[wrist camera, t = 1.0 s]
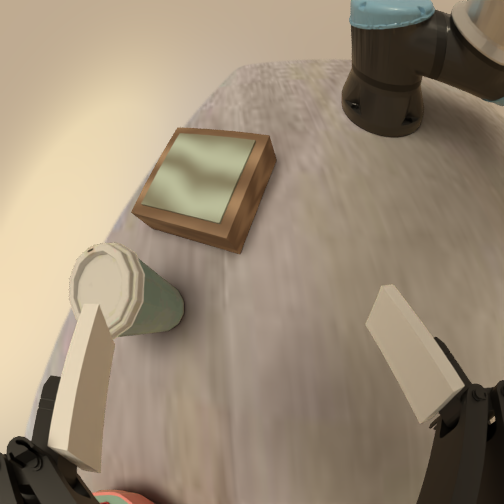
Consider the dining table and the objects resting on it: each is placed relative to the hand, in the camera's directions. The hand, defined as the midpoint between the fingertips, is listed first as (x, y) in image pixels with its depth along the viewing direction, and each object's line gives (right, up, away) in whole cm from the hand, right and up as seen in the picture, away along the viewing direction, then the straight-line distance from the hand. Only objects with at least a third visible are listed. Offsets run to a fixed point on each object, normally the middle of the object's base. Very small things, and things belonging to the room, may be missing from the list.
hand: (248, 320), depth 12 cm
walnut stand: (-6, +12, +31) cm, 34 cm away
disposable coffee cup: (-13, -5, +27) cm, 30 cm away
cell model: (-17, -41, +16) cm, 47 cm away
